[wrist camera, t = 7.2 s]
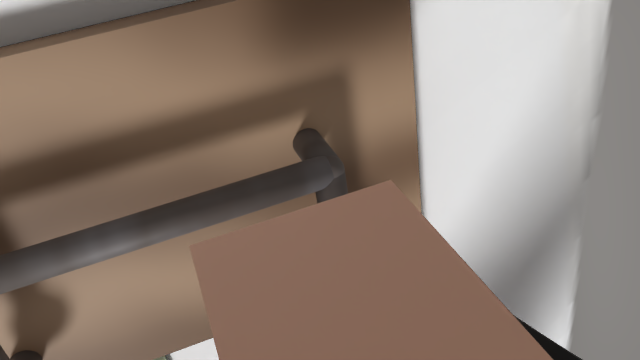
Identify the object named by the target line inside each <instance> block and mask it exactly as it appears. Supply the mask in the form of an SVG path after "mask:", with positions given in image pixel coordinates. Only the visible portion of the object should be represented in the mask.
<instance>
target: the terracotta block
mask: <svg viewBox="0 0 640 360" xmlns="http://www.w3.org/2000/svg"><path fill="white" fill-rule="evenodd" d="M189 247H190V251H191V254H192V258H193V262H194V266H195V270H196V273H197V277H198V281H199V285H200V289H201V292H202V296H203V300H204V304H205V308H206V311H207V315H208V319H209V323H210V327H211V330H212V334H213V338H214V342H215V345H216V349H217V353H218V357H219V360H553V359H552V358H551V357H550V355H549V354H548V353H547V352H546V351H545V350H544V349H543V348H542V347H541V346H540V344H539V343H538V342H537V341H536V340H535V339H534V338H533V337H532V336H531V334H530V333H529V332H528V331H527V330H526V329H525V328H524V327H523V326H522V324H521V323H520V322H519V321H518V320H517V319H516V318H515V317H514V316H513V315H512V313H511V312H510V311H509V310H508V309H507V308H506V307H505V306H504V305H503V303H502V302H501V301H500V300H499V299H498V298H497V297H496V296H495V295H494V293H493V292H492V291H491V290H490V289H489V288H488V287H487V286H486V285H485V283H484V282H483V281H482V280H481V279H480V278H479V277H478V276H477V275H476V274H475V272H474V271H473V270H472V269H471V268H470V267H469V266H468V265H467V264H466V262H465V261H464V260H463V259H462V258H461V257H460V256H459V255H458V254H457V252H456V251H455V250H454V249H453V248H452V247H451V246H450V245H449V244H448V243H447V241H446V240H445V239H444V238H443V237H442V236H441V235H440V234H439V233H438V231H437V230H436V229H435V228H434V227H433V226H432V225H431V224H430V223H429V221H428V220H427V219H426V218H425V217H424V216H423V215H422V214H421V213H420V212H419V210H418V209H417V208H416V207H415V206H414V205H413V204H412V203H411V202H410V200H409V199H408V198H407V197H406V196H405V195H404V194H403V193H402V192H401V190H400V189H399V188H398V187H397V186H396V185H395V184H394V183H393V182H392V181H391V180H388V181H385V182H382V183H379V184H376V185H373V186H370V187H367V188H364V189H361V190H358V191H355V192H351V193H348V194H345V195H342V196H339V197H336V198H333V199H330V200H327V201H324V202H321V203H318V204H315V205H312V206H309V207H306V208H303V209H299V210H296V211H293V212H290V213H287V214H284V215H281V216H278V217H275V218H272V219H269V220H266V221H263V222H260V223H257V224H254V225H251V226H247V227H244V228H241V229H238V230H235V231H232V232H229V233H226V234H223V235H220V236H217V237H214V238H211V239H208V240H205V241H202V242H198V243H195V244H192V245H189Z"/></svg>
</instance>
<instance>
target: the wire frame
mask: <svg viewBox="0 0 640 360" xmlns="http://www.w3.org/2000/svg"><path fill="white" fill-rule="evenodd" d="M388 180H391V181H392V182H393V183H394V184H395V185H396V186H397V187H398V188H399V189H400V190H401V192H402V193H403V194H404V195H405V196H406V197H407V198H408V199H409V200H410V202H411V203H412V204H413V205H414V206H415V207H416V208H417V209H418V210H419V212H420V213H421V198H420V179H419V161H418V143H417V125H416V107H415V89H414V71H413V53H412V35H411V16H410V0H196V1H192V2H188V3H184V4H180V5H176V6H171V7H167V8H163V9H159V10H155V11H151V12H146V13H142V14H138V15H134V16H130V17H126V18H121V19H117V20H113V21H109V22H105V23H100V24H96V25H92V26H88V27H84V28H80V29H75V30H71V31H67V32H63V33H59V34H55V35H50V36H46V37H42V38H38V39H34V40H29V41H25V42H21V43H17V44H13V45H9V46H4V47H0V360H154V359H156V358H159V357H162V356H165V355H167V354H170V353H173V352H175V351H178V350H181V349H184V348H186V347H189V346H192V345H194V344H197V343H200V342H203V341H205V340H208V339H211V338H213V334H212V330H211V327H210V323H209V319H208V315H207V311H206V308H205V304H204V300H203V296H202V292H201V289H200V285H199V281H198V277H197V273H196V270H195V266H194V262H193V258H192V254H191V251H190V247H189V245H192V244H195V243H198V242H202V241H205V240H208V239H211V238H214V237H217V236H220V235H223V234H226V233H229V232H232V231H235V230H238V229H241V228H244V227H247V226H251V225H254V224H257V223H260V222H263V221H266V220H269V219H272V218H275V217H278V216H281V215H284V214H287V213H290V212H293V211H296V210H299V209H303V208H306V207H309V206H312V205H315V204H318V203H321V202H324V201H327V200H330V199H333V198H336V197H339V196H342V195H345V194H348V193H351V192H355V191H358V190H361V189H364V188H367V187H370V186H373V185H376V184H379V183H382V182H385V181H388Z"/></svg>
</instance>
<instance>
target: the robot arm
mask: <svg viewBox="0 0 640 360" xmlns="http://www.w3.org/2000/svg"><path fill="white" fill-rule="evenodd" d="M513 316H514V315H513ZM514 317H515V316H514ZM515 318H516V319H517V320H518V321H519V322H520V323H521V324H522V326H523V327H524V328H525V329H526V330H527V331H528V332H529V333H530V334H531V336H532V337H533V338H534V339H535V340H536V341H537V342H538V343H539V344H540V346H541V347H542V348H543V349H544V350H545V351H546V352H547V353H548V354H549V355H550V357H551V358H552V359H553V360H582V359H581V358H579V357H577V356H576V355H574V354H572V353H571V352H569V351H568V350H566V349H564V348H563V347H561V346H560V345H558V344H557V343H555V342H554V341H552V340H550V339H549V338H547V337H546V336H544V335H543V334H541V333H540V332H538V331H537V330H535V329H533V328H532V327H530V326H529V325H527V324H526V323H524V322H523V321H521V320H520V319H518V318H517V317H515Z"/></svg>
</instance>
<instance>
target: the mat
mask: <svg viewBox="0 0 640 360" xmlns="http://www.w3.org/2000/svg"><path fill="white" fill-rule="evenodd" d="M154 360H167V359H166V357H165V356H162V357H159V358H156V359H154Z"/></svg>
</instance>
